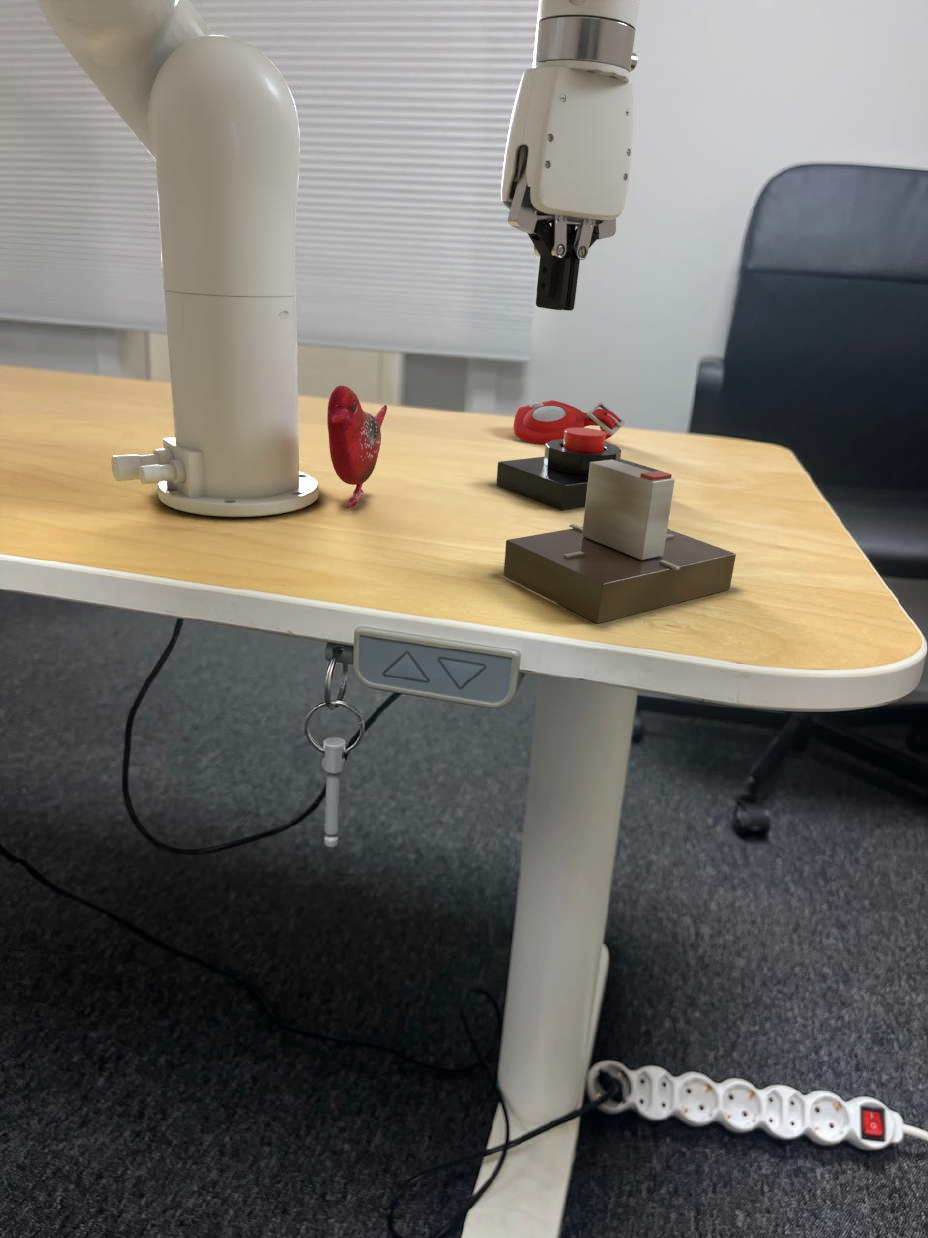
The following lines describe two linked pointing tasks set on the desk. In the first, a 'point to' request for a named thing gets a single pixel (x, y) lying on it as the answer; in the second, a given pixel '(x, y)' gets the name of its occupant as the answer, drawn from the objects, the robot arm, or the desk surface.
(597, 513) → the grey rectangular block
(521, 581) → the brown flat block
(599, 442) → the button
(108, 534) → the desk surface
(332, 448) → the decorative bird figurine
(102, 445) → the desk surface
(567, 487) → the button box
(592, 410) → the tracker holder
